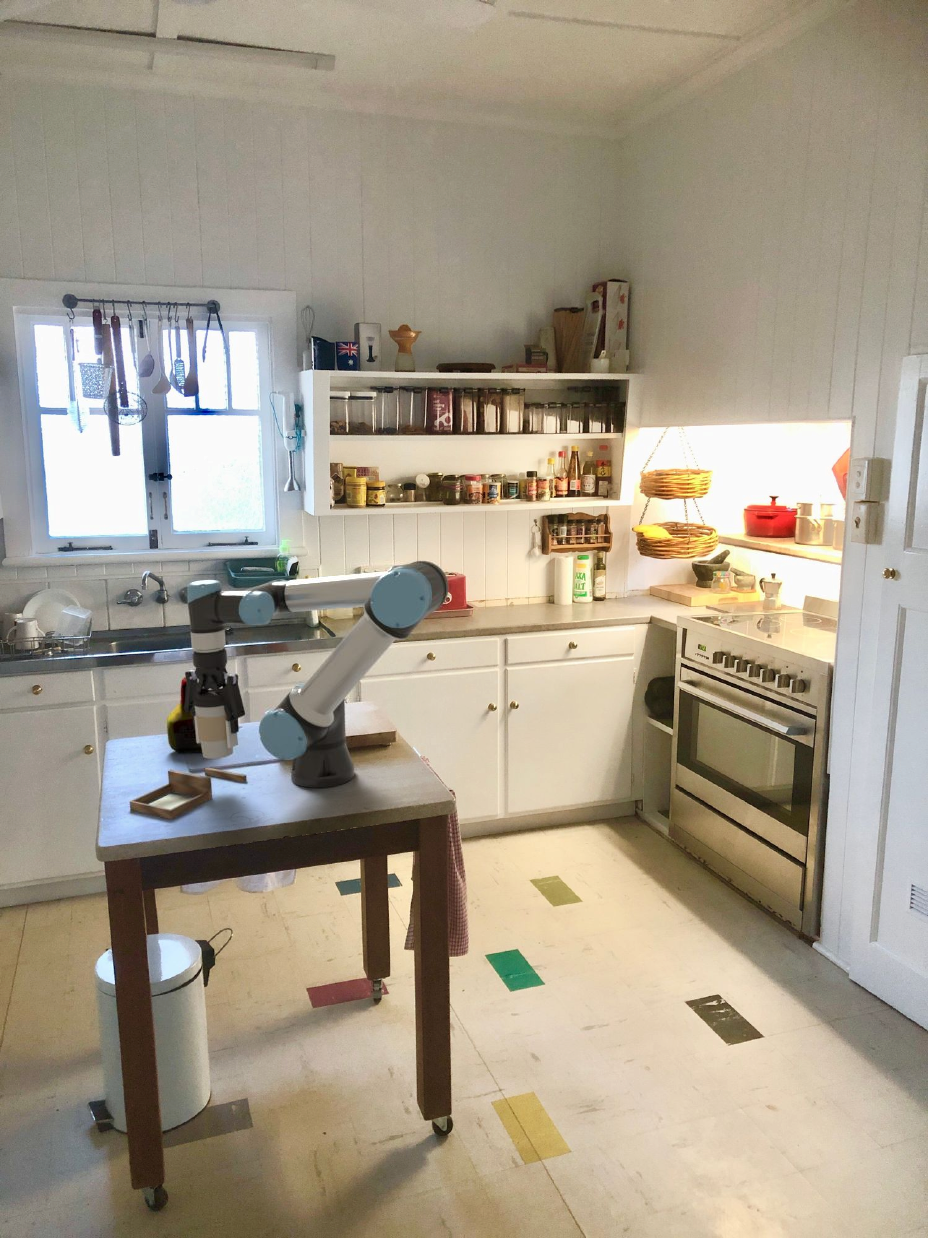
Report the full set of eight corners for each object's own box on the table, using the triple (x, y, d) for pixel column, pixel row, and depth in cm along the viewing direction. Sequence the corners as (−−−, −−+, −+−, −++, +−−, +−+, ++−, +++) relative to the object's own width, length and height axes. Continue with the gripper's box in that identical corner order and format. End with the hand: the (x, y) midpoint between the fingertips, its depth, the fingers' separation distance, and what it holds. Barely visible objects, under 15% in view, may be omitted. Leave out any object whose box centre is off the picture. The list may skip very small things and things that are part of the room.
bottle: (218, 746, 251) (213, 673, 247) (211, 755, 245) (206, 680, 241) (173, 747, 251) (168, 674, 247) (165, 755, 245) (160, 680, 241)
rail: (246, 780, 227) (246, 775, 226) (243, 782, 226) (243, 776, 225) (207, 773, 232) (207, 767, 232) (205, 774, 231) (204, 768, 231)
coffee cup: (244, 748, 224) (239, 686, 221) (226, 761, 215) (221, 697, 212) (209, 746, 226) (204, 685, 223) (190, 759, 217) (184, 696, 214)
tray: (212, 798, 216) (210, 777, 215) (171, 819, 205) (169, 797, 204) (172, 790, 221) (170, 769, 220) (130, 810, 210) (128, 788, 209)
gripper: (257, 648, 214) (264, 744, 218) (185, 641, 224) (193, 733, 228) (235, 655, 207) (242, 754, 212) (161, 648, 217) (170, 743, 221)
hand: (217, 743), depth 220 cm, fingers closed on coffee cup, 9 cm apart
